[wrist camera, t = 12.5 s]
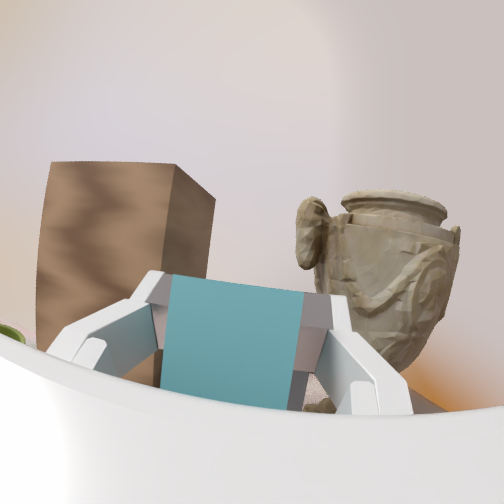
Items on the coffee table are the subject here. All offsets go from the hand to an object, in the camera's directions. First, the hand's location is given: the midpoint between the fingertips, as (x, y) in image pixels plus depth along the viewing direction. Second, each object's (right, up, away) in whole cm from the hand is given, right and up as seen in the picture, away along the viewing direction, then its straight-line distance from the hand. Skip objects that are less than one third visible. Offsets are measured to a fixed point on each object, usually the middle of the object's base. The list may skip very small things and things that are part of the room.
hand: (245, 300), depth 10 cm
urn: (+14, -22, +26) cm, 37 cm away
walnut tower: (-11, -19, +13) cm, 26 cm away
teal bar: (0, -4, +10) cm, 11 cm away
